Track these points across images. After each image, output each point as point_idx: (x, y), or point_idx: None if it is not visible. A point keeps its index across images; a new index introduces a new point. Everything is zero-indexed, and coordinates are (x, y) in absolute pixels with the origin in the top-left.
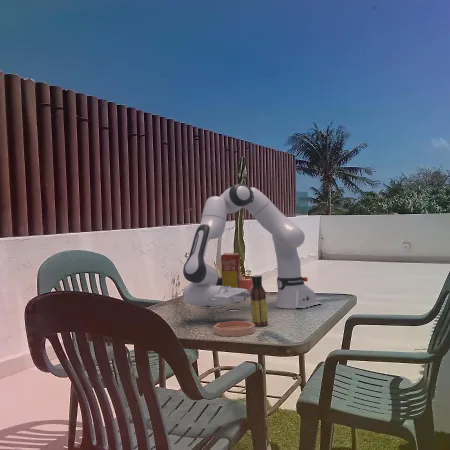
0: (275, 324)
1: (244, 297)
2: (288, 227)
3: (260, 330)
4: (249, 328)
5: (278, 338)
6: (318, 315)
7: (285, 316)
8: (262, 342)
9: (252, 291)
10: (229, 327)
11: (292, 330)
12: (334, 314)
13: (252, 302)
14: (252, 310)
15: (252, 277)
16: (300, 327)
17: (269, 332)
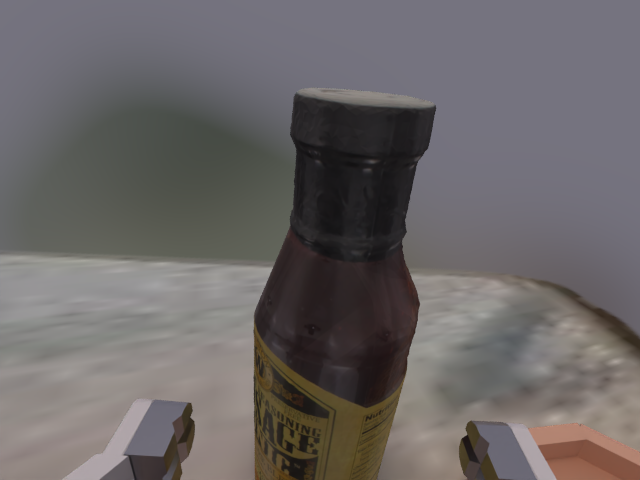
0: None
1: (487, 421)
2: None
3: (452, 432)
4: (593, 434)
5: (517, 329)
6: (69, 286)
7: (22, 403)
8: (618, 360)
9: (404, 300)
10: None
11: None
12: (70, 255)
13: (399, 393)
14: (378, 455)
15: (427, 120)
16: None
17: (460, 379)
